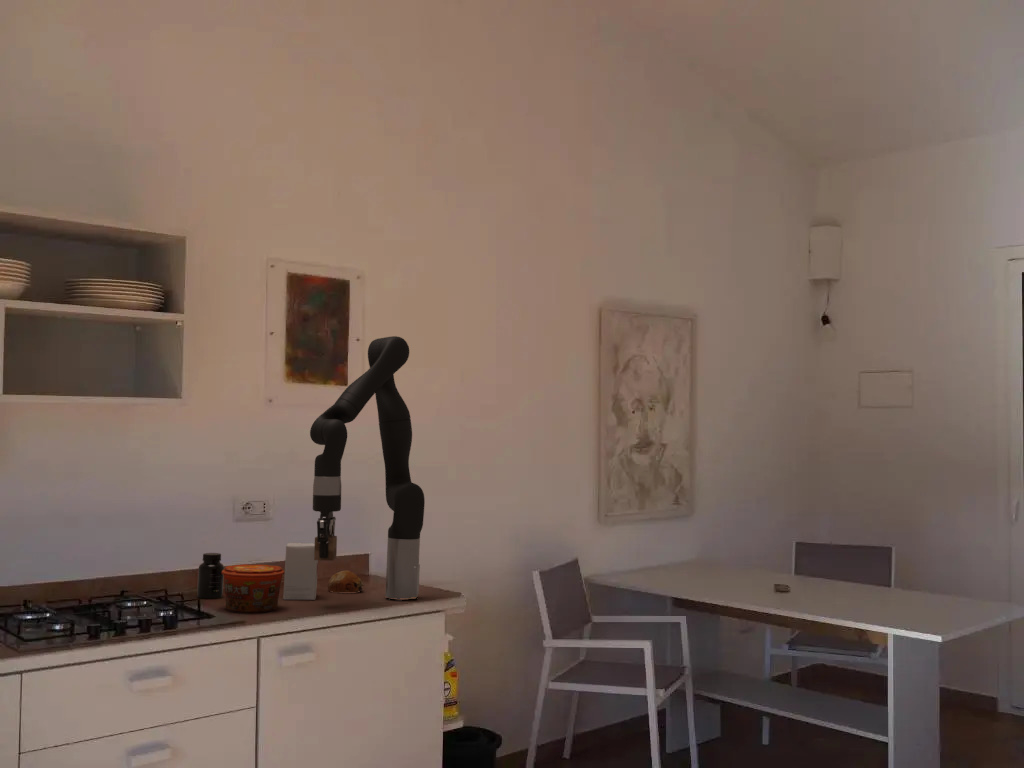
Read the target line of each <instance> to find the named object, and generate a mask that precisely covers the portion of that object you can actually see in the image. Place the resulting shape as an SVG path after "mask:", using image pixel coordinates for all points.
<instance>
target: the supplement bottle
mask: <svg viewBox="0 0 1024 768" xmlns="http://www.w3.org/2000/svg"><path fill="white" fill-rule="evenodd" d="M202 561H203V562H202V563H200V564H199V566H198V573H197V574H198V576H197V590H196V591H197V593H196V594H197V598H199V599H201V600H216V599H221V598H222V597H223V595H224V574H223V575H222V571H223V570H224V569H225V566H224V564H222V563H221V561H222V554H221V553H219V552H206V553H203V554H202Z"/></svg>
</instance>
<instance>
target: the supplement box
mask: <svg viewBox="0 0 1024 768" xmlns="http://www.w3.org/2000/svg"><path fill="white" fill-rule="evenodd" d="M314 551H315V542H313V543H307V542H306V543H305V542H301V543H299V542H288V543H287V544H286V546H285V558H284V559H285V560H284V561H285V562H284V572H285V573H284V575H283V576H284V579H283V596H282V597H283V598H282V600H287V601H292V600H293V601H294V600H296V601H298V600H299V601H300V600H301V601H305V600H306V601H315V600H316V597H317V588H318V587H317V585H318V572H319V571H318V570H319V568H318V567H319V560H314Z"/></svg>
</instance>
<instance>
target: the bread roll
mask: <svg viewBox="0 0 1024 768" xmlns="http://www.w3.org/2000/svg"><path fill="white" fill-rule="evenodd" d="M362 587H364V583H363V581H362V579H361V578H360V577H359V576H358V575H357V574H356V573H354V572H352V571H350V570H348V569H347V570H342V571H339V572H336V573H334V574H333V575H332V576H331V577H330V579H329V580H328V582H327V589H328V592H329V591H333V592H358V591H361V592H362V590H363V588H362Z"/></svg>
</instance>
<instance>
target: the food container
mask: <svg viewBox="0 0 1024 768" xmlns="http://www.w3.org/2000/svg"><path fill="white" fill-rule="evenodd" d="M223 574H224V579H223V586H224V597H225V609H226V610H227V611H229V612H233V613H239V614H259V613H268V612H272V611H275V610H277V608H278V603H279V602H278V601H279V596H280V591H281V586H282V585H281V584H282V578H283V576H284V575H285V569H283V568H282V567H281V566H279V565H270V564H247V563H246V564H235V565H227V566H224V570H223V571H222V575H223Z"/></svg>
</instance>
